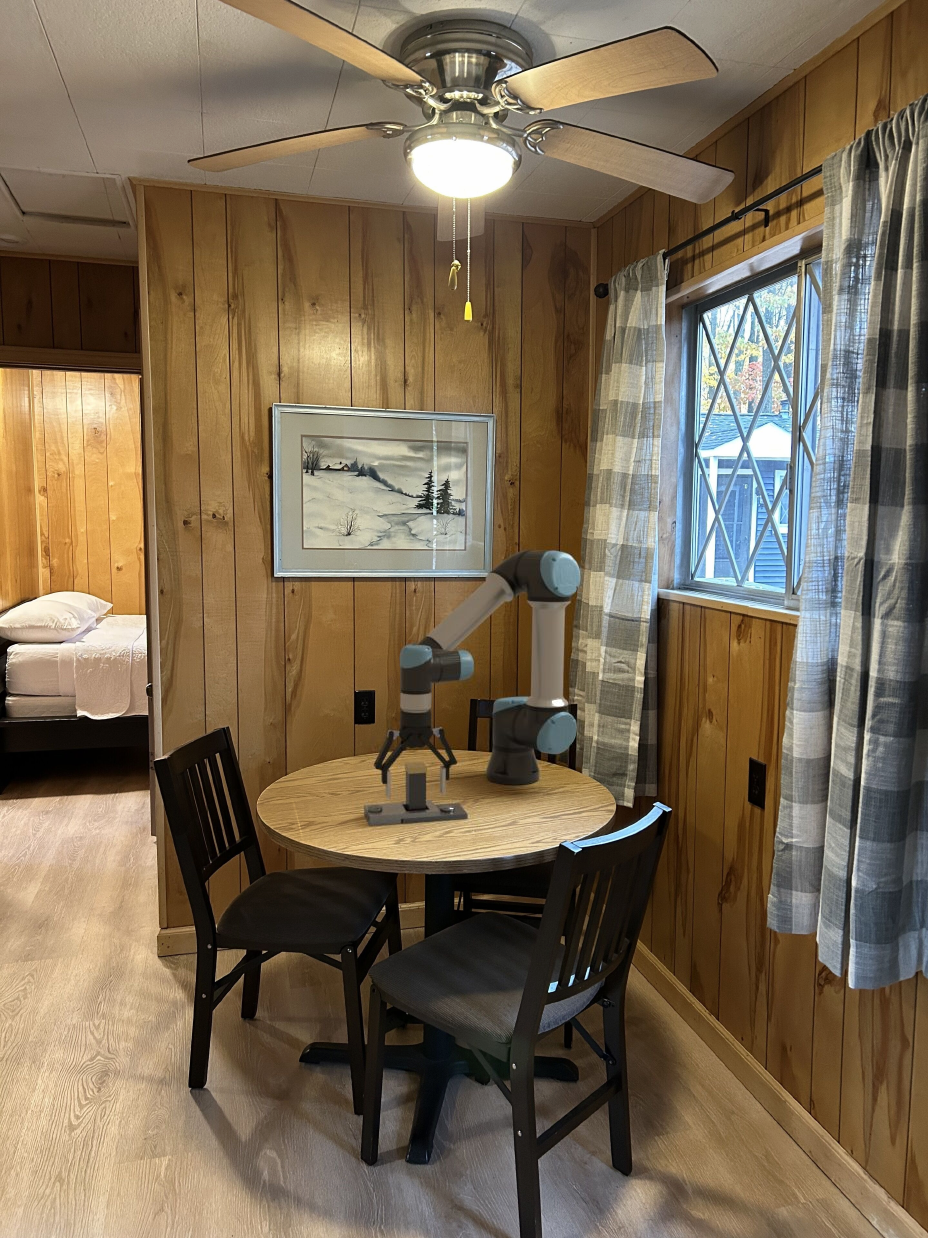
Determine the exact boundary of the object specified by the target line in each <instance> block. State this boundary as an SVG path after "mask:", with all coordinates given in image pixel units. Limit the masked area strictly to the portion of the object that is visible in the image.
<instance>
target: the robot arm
mask: <svg viewBox="0 0 928 1238" xmlns="http://www.w3.org/2000/svg"><path fill="white" fill-rule="evenodd" d="M485 576H486V577H485V581H484V582H483V583H482V584H481V585H480V586H479V587H478V588H477V589H475V591H473V593H472V594H471V593H470V595H469V596H468V597H467V598H466V599H464V601H462V602H461V604H459V605H458V606H457V607H456V608H455V609H454V610H453V611H452V612H451V613H449V615H447V616H446V617H445V618H444V619H443V620H442V621H441V622H439V623H438V625H436V626H435V627H434V628H433V629H432V630H431V631H430V632H428V633H427V634H426V636H425V637H423V638H422V639H421V640H420V641H419V642H417V643H415V642H414V643H409V644H407V645H405V646H403V647H402V649H401V650H400V653H399V667H400V668H399V669H400V672H399V673H400V674H399V675H400V676H399V680H400V682H399V683H400V687H399V688H400V698H399V699H400V705H399V706H400V708H401V710H400V713H399V716H400V720H399V721H400V723H399V724H400V725H399V726H400V728H399V730H392V729H391V728H389V729H388V730H387V731H386V738H385V739H384V740H385V741H384V742H383V745H382V747H381V749H380V750H379V752H378V754H377V756H376V758H375V761H374V763H373V766H374V768H375V769H376V770H379V771H381V774H380V775H381V780H380V781H381V783H382V785H385V797H386V798H387V799H391V798H392V797H391V796H392V794H391V793H392V791H391V787H392V785H391V783H392V782H391V780H392V779H391V778H392V777H391V776H392V773H391V770H390V768H391V767H392V766H393V764H394V763H395V762H396V760H398V758H399V757H400V756H401V754H402V753H403V752H404V751H405V750H407V748H408V749H416V748H419V749H421V748H424V747H426V746H427V748H428V749H429V750H430V752H431V753H433V755H434V756H435V757H436V758H437V759H438V760H439V761H440V762H441V763H442V765H440V766H439V792H440V794H441V795H442V796H443V795H446V792H447V791H446V784H447V783H446V782H447V781H449V780H450V775H451V774H450V771H451V770H450V769H451V767H452V766H455V765H457V764H458V761H457V759H456V757H455V755H454V753H453V751H452V748H451V747H450V744H449V743H448V741H447V738H446V734H445V733H446V732H445V730H444V728H443V727H442V726H438V727H436V728H432V710H431V708H432V688H433V687H432V685H433V684H437V683H447V682H460V681H463V680H468V679H469V678H471V676H473V673H474V670H475V667H474V666H475V661H474V658H473V656H472V654H471V653H470V652H469V651H467V650H465V649H455V648H457V647H458V646H459V645H460V644H461V643H462V642H463V641H464V640H465V639H466V638H468V636H470V634H472V633H473V632H474V631H475V630H476V629H477V628H478V627H479V626H480V625H481V624H482V623H483V622H484V621H485V620H486V619H488V618H489V616H491V615H492V614H493V613H494V612H495V611H497V609H499V607H500V606H502V605H503V604H504V602H506V603H507V602H509V603H510V602H511V601H513V599H514V598H516V597H517V596H518V595H521V594H526V602H527V604H529V605H530V606H531V607H532V622H531V623H532V625H531V626H532V629H531V670H530V671H531V672H530V673H531V675H530V677H531V680H530V684H531V686H530V696H511V697H501V698H498V699H496V700H495V701H493V702H494V703H493V711H492V752H491V755H490V757H489V761H488V764H487V767H486V772H485V774H486V775H485V776H486V779H487V780H488V781H489V782H492V783H496V784H501V785H508V786H509V785H510V786H513V785H514V786H515V785H516V786H517V785H527V784H528V785H529V784H533V783H536V782H537V781H539V780H540V777H541V776H540V768H539V764H538V761H537V758H536V754H535V750H536V751H539V752H541V753H545V754H551V755H559V754H561V753H564V752H565V751H566V750H567V749H569V748H570V746H571V745H572V743H573V742H574V741H575V738H576V735H577V731H578V726H577V720H576V719H575V718H574V716H573V715H572V714H570V713H569V702H568V700H567V699H565V697H564V668H565V667H564V664H565V663H564V662H565V660H564V659H565V625H566V624H565V619H566V618H565V614H566V607H567V606H568V605H569V604H571V601H572V599H571V598H572V595H574V594H575V593H576V591H577V589H578V588H579V586H580V583H581V570H580V567H579V564H578V563H577V561H576V560H575V559H574V557H573V556H572V555H570V554H569V553H567V552H563V551H558V550H534V549H526V550H521V551H518V552H516V553H514V554H512V555H510V556H509V557H507V558H506V559H505V560H503V561H502V562H500V563H499V564H498V565H497V566H495V567H494V568H493V569H491V571H490V572H489V573H488V574H487V575H485ZM454 649H455V650H454ZM433 735H435V737H436V738H438V740H439V742H440V744H441V746H442V747H443V749H444V751H445V754H446V756H447V757H448V760H447V759H446V758H445V757H444V756H443V755H442V753H441V752H440V751H439V750H438V749H437V748H436V747H435V746H434V744H433V743H432V742H431V741H430V740H431V738H432V737H433ZM397 737H399V738H400V739H401V740H400V741H399V742H398V743H397V746H396V747H395V748H394V750H392V752H391V753H390V754H389V756H388V757H387V755H388V753H389V752H390V751H389V750H390V748H391V747H392V744H393V742H394V740H396V739H397ZM386 757H387V758H386Z"/></svg>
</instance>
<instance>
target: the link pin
mask: <svg viewBox="0 0 928 1238" xmlns="http://www.w3.org/2000/svg"><path fill="white" fill-rule="evenodd" d="M404 770H405V802H406V811H420V810H426V801H427V773H428V765H427V764H426V763H425V762H424V761H416V762H415V761H413V762H404Z"/></svg>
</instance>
